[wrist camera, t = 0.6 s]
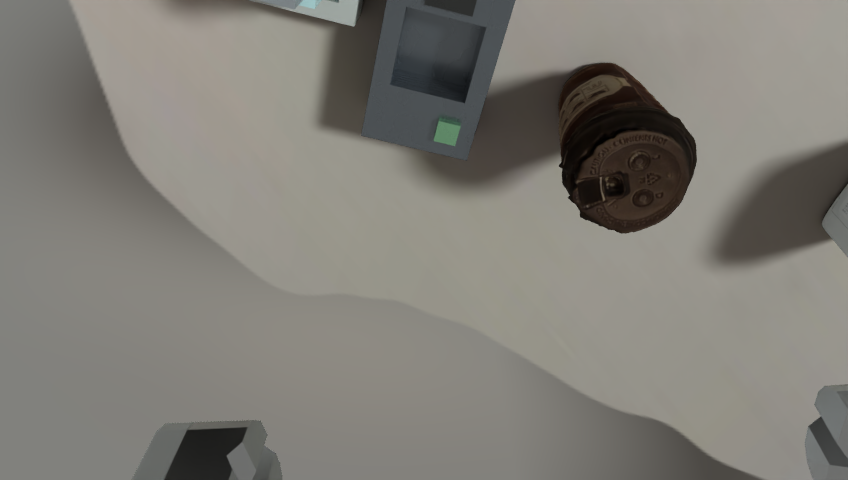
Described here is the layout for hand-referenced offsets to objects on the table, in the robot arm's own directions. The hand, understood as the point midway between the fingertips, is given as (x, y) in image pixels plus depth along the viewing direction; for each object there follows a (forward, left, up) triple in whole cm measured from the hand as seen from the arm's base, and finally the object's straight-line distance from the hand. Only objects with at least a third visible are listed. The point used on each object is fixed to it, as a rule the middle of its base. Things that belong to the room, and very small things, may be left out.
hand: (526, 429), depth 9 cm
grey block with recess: (+6, -1, -41) cm, 41 cm away
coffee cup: (+8, +12, -41) cm, 43 cm away
